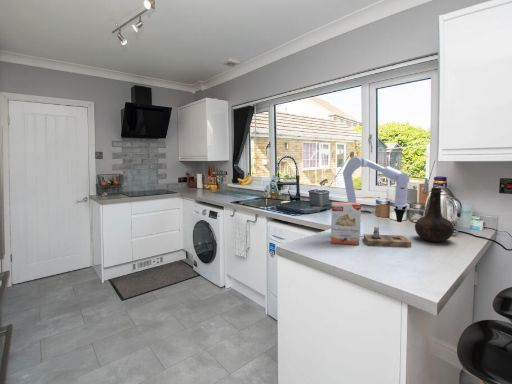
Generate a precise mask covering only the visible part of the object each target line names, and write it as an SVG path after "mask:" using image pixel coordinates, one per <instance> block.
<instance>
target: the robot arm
mask: <svg viewBox="0 0 512 384" xmlns="http://www.w3.org/2000/svg"><path fill="white" fill-rule="evenodd" d="M360 167H361V168H370V169H372V170H375V171H376V172H378V173H380V174H381V176H382V177H384V178H386V179H388V180H390V181H394V182H395V193H394V208H393V211H394V213H395V216H396V217H395V218H396V222H397V223H402V222H403V218H404V215H405V213H406V211H407V207H409V206H410V204H409V203H408V192H409V191H408V184H409V182H410V180H411V179H410V177H409V175H408V174H407V173H404V172H402V171H401V170H397V169H395V168H393V166H388V165H387V166H382V165H380V164H378V163H375V162H374V161H372V160H369V159H366V158H362V157H361V158H360V157H359V156H353V157H351V158H350V159H349V160H347V163H346V164H345V167H344V170H343V172H342V176H343V182H344V186H345V187H344V188H345V192H346V198H347V203H358V202H357V198H356V193H355V186H354V182H353V181H354V180H353V176H352V175H353V174H354V173H355V172H356V171H357V169H359V168H360ZM361 223H362V218H360V230H361V228H362V227H361V226H362V225H361ZM361 237H363V236H362V234H361V233H360V237H359V238H361Z"/></svg>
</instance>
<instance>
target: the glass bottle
mask: <svg viewBox="0 0 512 384" xmlns="http://www.w3.org/2000/svg"><path fill="white" fill-rule="evenodd" d="M442 188H443V187H438V186H437V187H436V186H434V187H431V188H430V189H431V190H429V192H430V198H429V199H430V200H429V204H428V208H427V211H426V213H425V215H424V216H421V217H420V218H418V219H417V220H416V221H415V224H414V230H415V232H416V234H417V236H419V238H421V239H422V240H424V241H428V242H431V243H432V242H433V243H441V242H446V241H447V240H449V239H451V237H452V236H453V235H454V233H455V226H454V224H453V223H452V222H451V220H449V219H448V218H445V217H443V215H442V208H441V207H442V204H441V203H442V202H441V201H442V200H441V197H442V195H441V194H442V193H443V192H444V191H443V190H442Z"/></svg>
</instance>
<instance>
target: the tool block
mask: <svg viewBox="0 0 512 384" xmlns="http://www.w3.org/2000/svg"><path fill="white" fill-rule="evenodd" d="M362 237H363V238H362V239H363V240H364V242H365V243H366V244H367V246H368V247H369V246H371V247H395V248H397V247H399V248H412V241H411V240H410V239H408V238H407V237H406V236H405V235H400V234H399V235H397V234H395V235H393V234H379V239H373V234H369V233H368V234H365V233H363V236H362Z"/></svg>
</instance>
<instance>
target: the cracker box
mask: <svg viewBox="0 0 512 384" xmlns="http://www.w3.org/2000/svg"><path fill="white" fill-rule="evenodd" d="M361 211H362V205H361V202H357V203H348V202H338V201H337V202H336V201H332V202H331V219H330V220H331V221H330V223H331V224H330V244H339V245H349V246H350V245H351V246H352V245H354V246H360V238H361V237H360V234H361V229H360V219H361V216H362V215H361V213H362V212H361Z"/></svg>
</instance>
